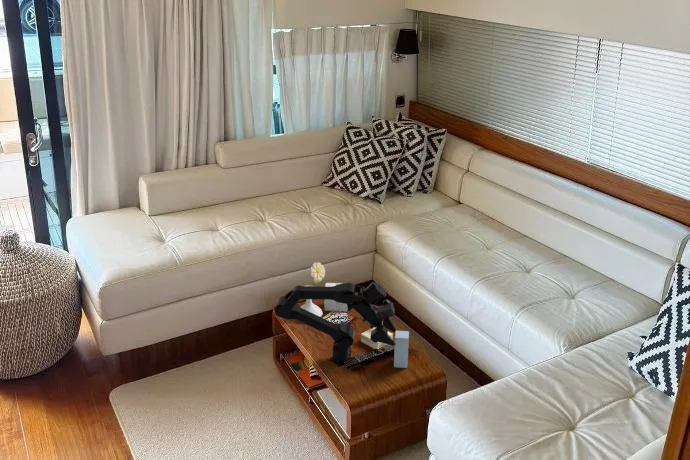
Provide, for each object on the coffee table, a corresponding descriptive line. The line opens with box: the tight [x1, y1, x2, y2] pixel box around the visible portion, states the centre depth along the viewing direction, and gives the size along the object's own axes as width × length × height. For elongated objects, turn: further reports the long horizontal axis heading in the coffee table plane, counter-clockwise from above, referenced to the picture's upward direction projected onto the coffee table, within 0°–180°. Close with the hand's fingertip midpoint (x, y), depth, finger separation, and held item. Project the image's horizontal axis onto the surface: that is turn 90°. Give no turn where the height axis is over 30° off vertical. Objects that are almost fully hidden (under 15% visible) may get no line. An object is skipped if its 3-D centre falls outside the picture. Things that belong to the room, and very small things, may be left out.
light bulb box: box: [323, 282, 349, 313], centre depth 294 cm, size 11×7×11 cm, turn 84°
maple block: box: [360, 327, 394, 350], centre depth 271 cm, size 9×9×4 cm
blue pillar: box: [393, 330, 410, 369], centre depth 255 cm, size 5×5×13 cm
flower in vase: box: [300, 262, 326, 317], centre depth 285 cm, size 13×11×25 cm
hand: (395, 338), depth 253 cm, fingers open, 9 cm apart
